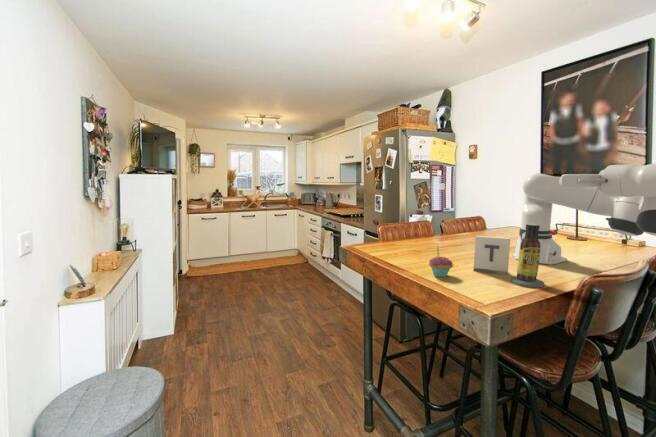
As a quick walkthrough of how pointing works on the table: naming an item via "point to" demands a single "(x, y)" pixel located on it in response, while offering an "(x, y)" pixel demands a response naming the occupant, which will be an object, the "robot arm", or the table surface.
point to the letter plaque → (491, 254)
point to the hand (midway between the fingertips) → (565, 180)
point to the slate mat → (527, 282)
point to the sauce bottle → (529, 254)
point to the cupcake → (440, 265)
